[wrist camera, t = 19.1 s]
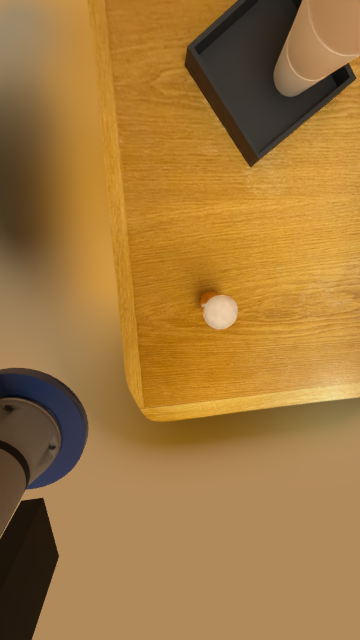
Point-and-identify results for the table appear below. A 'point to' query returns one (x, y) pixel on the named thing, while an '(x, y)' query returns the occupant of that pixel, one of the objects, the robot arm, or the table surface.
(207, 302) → the milkshake
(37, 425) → the robot arm
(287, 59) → the cup
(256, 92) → the tray
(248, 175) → the table surface
